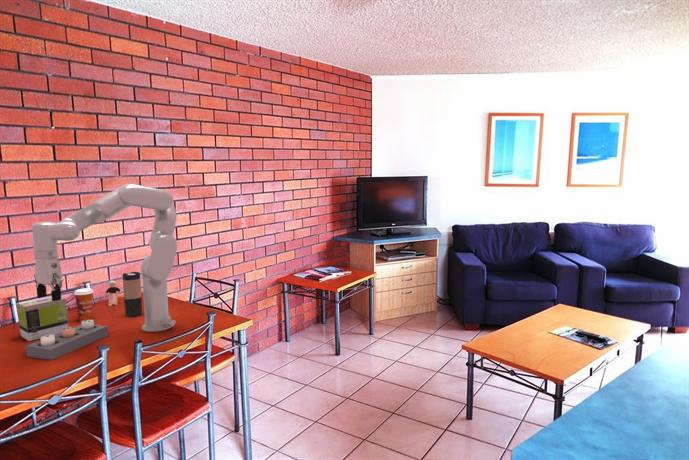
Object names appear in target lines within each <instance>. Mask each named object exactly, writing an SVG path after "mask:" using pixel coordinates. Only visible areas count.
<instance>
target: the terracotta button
mask: <svg viewBox="0 0 689 460" xmlns="http://www.w3.org/2000/svg"><path fill="white" fill-rule="evenodd" d="M75 327H76V326H69V327H66V328H63V329H62V337H63V338H68V339H69V338H71V337H74V336H76V333H75Z"/></svg>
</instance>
